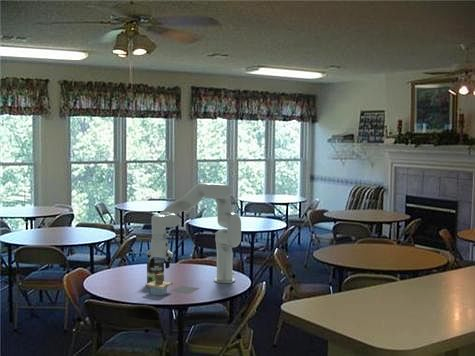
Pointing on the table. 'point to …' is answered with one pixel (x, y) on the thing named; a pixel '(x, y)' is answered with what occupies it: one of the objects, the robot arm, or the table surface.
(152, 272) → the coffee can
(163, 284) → the lid
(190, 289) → the mat
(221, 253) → the robot arm
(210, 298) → the table surface
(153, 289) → the bowl
